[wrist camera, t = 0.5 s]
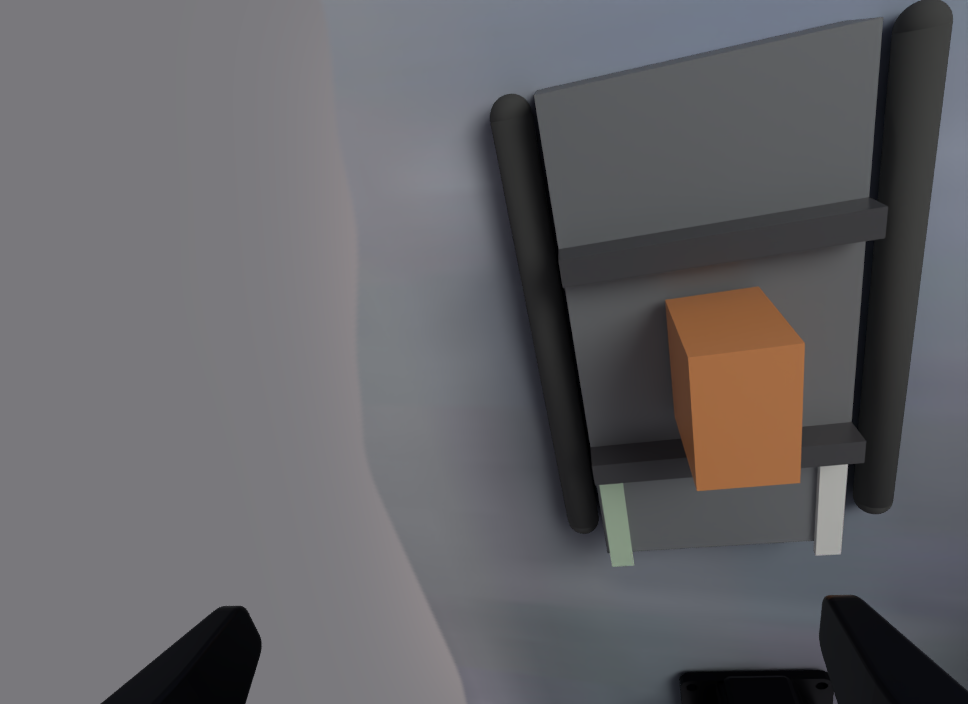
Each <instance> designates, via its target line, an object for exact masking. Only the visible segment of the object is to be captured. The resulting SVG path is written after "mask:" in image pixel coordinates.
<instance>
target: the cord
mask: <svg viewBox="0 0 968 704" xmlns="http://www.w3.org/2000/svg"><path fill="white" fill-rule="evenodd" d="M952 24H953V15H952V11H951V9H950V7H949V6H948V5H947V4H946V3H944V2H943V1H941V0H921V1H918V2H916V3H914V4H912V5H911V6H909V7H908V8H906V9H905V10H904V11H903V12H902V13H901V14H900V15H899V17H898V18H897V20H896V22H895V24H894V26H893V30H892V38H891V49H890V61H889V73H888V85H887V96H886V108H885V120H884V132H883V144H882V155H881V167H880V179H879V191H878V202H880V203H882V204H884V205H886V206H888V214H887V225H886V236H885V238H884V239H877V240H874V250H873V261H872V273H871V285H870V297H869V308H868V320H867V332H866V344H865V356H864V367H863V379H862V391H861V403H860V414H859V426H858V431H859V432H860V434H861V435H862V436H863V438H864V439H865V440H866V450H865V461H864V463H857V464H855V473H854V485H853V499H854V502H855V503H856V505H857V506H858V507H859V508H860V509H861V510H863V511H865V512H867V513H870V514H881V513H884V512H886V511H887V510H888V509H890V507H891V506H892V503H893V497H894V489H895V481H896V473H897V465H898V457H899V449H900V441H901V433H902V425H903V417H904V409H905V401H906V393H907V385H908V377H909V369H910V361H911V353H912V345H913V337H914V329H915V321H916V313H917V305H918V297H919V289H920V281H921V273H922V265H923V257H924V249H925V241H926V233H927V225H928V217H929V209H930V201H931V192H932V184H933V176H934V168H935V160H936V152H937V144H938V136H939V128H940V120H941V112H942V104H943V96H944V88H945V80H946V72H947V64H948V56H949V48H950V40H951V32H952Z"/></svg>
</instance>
